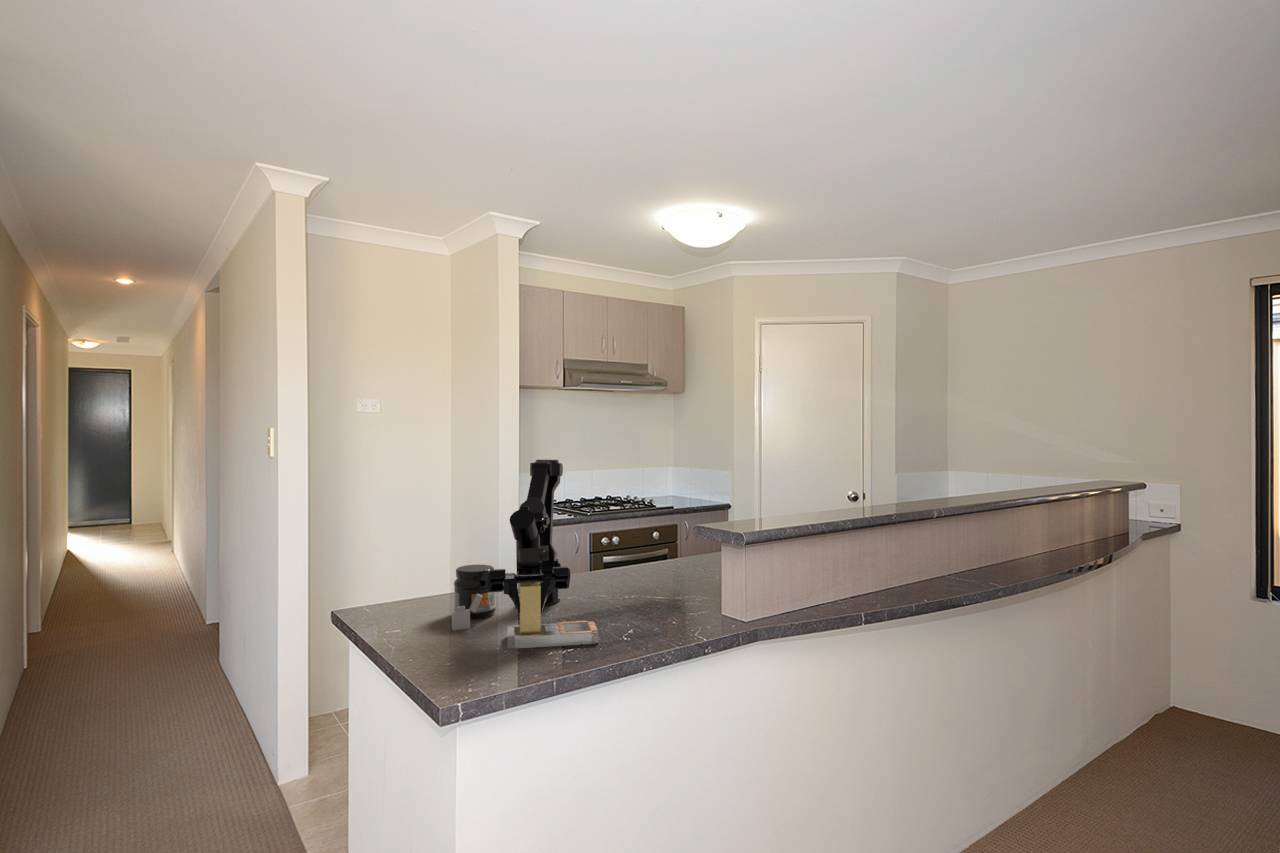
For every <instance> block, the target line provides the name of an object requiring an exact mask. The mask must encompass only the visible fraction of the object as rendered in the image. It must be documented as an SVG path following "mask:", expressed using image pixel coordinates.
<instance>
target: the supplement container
mask: <svg viewBox="0 0 1280 853" xmlns="http://www.w3.org/2000/svg"><path fill="white" fill-rule="evenodd" d="M493 569H495V567H494V566H492V565H489V564H479V563H478V564H466V565H461V566H458V567H456V569H455V577H456V579H455V580H454V582H453V588H454V591H453V592H454V595H453V596H454V597H453V598H454V604H453V606H454V610H455V608H456V607H458V606H465V609H469V608H470V606H471V604H472V602H473V600H474V598H475V596H476V594H480V595H482V596H483V597H482V599H481V601H480V604H479V606H478V608H477V610H476V612H472V611H470V620H479V619H486V618H489V617H491V616H492V615H494V614H495V613H496V610H497V607H496V606H497V605H496V592H489V591H488V572H489V571H490V570H493ZM454 610H453V611H454Z"/></svg>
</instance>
